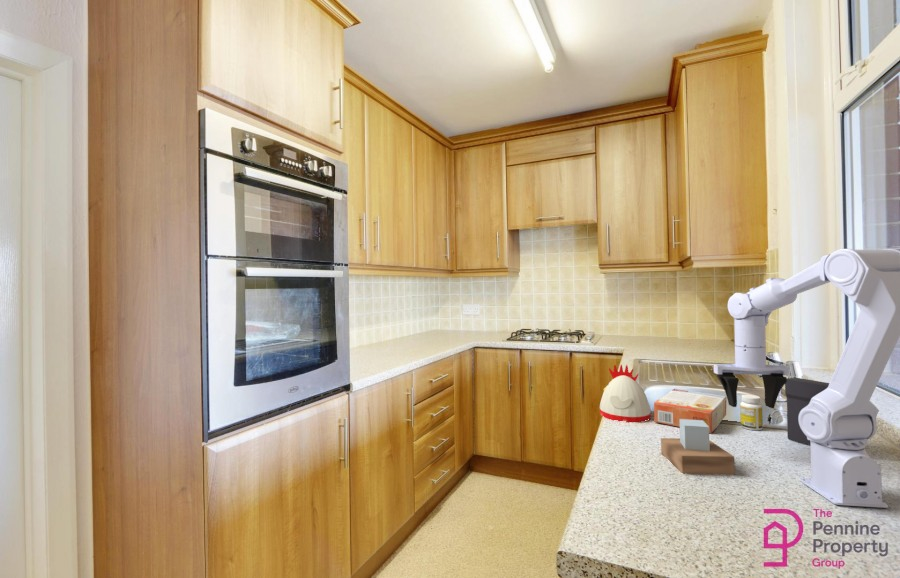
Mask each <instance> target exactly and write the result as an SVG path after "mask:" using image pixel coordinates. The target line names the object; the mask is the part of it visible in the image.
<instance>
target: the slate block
mask: <svg viewBox="0 0 900 578" xmlns="http://www.w3.org/2000/svg"><path fill="white" fill-rule="evenodd" d="M679 438H680V442H681V444H682V445H683V447H684V448H685V449H688V450H700V451H710V443H709V440H710V433H709V426H708V425H707V424H706V423H705V422H704V421H703V420H688V419H680V427H679Z"/></svg>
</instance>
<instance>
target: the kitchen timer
mask: <svg viewBox="0 0 900 578" xmlns="http://www.w3.org/2000/svg"><path fill="white" fill-rule="evenodd" d="M608 371H609V373H610V375H611V377H612V379H611V381H609V383H607V385H606V386H604V388H603V393H602V396H601V398H600V399H601V400H600V403H599V414H600V416H601V417H603V416H604V417H603V418H605V419H607V420H610V419H611V421H614V420H618V421H617V422H620V421H626V422H625V423H629V422H638V423H642V422H641V421H645V420H648V419H650V420H651V418H652V417H651V416H652V415H651V414H652V413H651V406H650V403H649V401H648V397H647V394H646V392H645V391H644V389H643V388H642V386H641V385H640V383H638V382H637V379H638V377H639V373H637V374H636V375H635V376H633V372H634V368H632V369H631V370H630V371H629V367H628V364H626V365H625V369H623V365H622V364H621V365H620V367H619V370H618V367H617V366H616V364H613V370H612V369H611V368H610V367H609V368H608ZM650 417H651V418H650ZM648 421H649V420H648ZM645 422H646V421H645Z"/></svg>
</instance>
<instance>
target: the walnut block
mask: <svg viewBox="0 0 900 578" xmlns="http://www.w3.org/2000/svg"><path fill="white" fill-rule="evenodd" d="M709 443H710V451H700V450H688V449H685V448H684V447H683V445H682V444H681V442H680V437H678V438H675V437H673V438H671V437H670V438H667V437H666V438H665V437H663V438H660V447H661V448H660V450H661V451H660V453H661V454H660V455H662V456H663V458H665V457H666V458H665V460H667V459H668V460H669V461H670V462H671V463H672V464H673V465H672V464H671V463H670V462H669V463H670V464H671V465H672V466H673V467H675V468H676V470H678V471H679V472H680V473H681V474H682V473H683V474H684V475H720V476H721V475H723V476H724V475H725V476H727V475H728V476H729V475H731V476H735V471H736V470H735V468H736V467H735V456H734V455H732V454H731V453H729V452H728V451H726V450H725V449H723V448H722V447H721V446H719V445H718V444H717V443H714V442H713V441H711V440H710V439H709ZM668 460H667V461H668ZM685 473H687V474H685ZM683 474H682V475H683Z"/></svg>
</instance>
